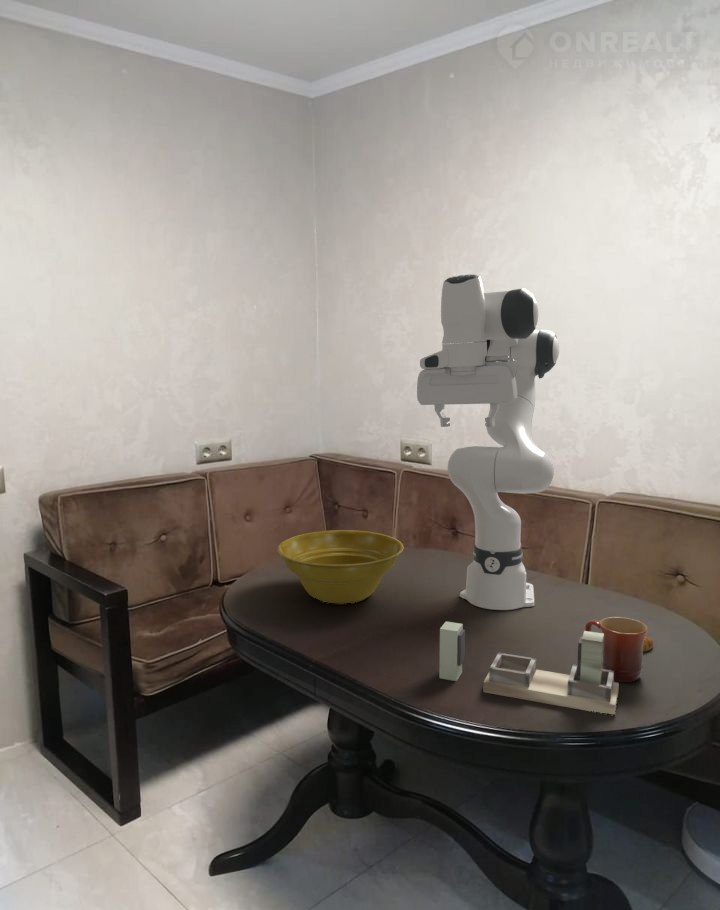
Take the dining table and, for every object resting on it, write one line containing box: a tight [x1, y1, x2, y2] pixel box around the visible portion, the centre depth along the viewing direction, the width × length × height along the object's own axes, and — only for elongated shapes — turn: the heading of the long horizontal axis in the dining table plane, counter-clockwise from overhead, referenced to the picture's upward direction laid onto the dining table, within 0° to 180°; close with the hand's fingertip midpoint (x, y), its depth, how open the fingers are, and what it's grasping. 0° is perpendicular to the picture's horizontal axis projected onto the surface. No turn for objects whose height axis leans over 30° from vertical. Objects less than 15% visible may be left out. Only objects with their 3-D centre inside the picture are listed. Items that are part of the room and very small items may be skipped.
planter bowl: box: [276, 529, 405, 605], centre depth 186 cm, size 32×32×13 cm
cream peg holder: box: [482, 630, 620, 715], centre depth 132 cm, size 9×23×12 cm, turn 67°
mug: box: [584, 616, 649, 683], centre depth 140 cm, size 12×9×10 cm
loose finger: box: [438, 621, 466, 682], centre depth 140 cm, size 4×4×10 cm
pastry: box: [643, 635, 654, 653], centre depth 153 cm, size 9×7×4 cm
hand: (467, 426), depth 146 cm, fingers open, 8 cm apart
